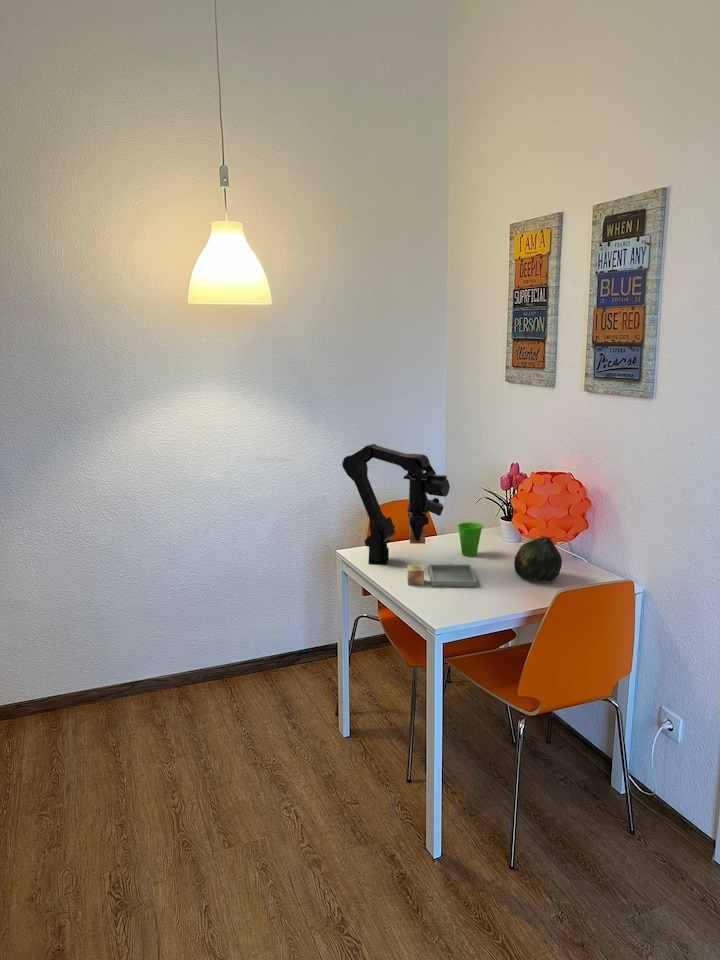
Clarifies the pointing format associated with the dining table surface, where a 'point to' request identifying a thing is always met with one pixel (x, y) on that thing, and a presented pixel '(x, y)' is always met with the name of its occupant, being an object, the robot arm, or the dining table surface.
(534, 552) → the squash
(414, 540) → the walnut block
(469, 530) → the cup
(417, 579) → the oak block
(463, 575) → the tray
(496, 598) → the dining table surface
